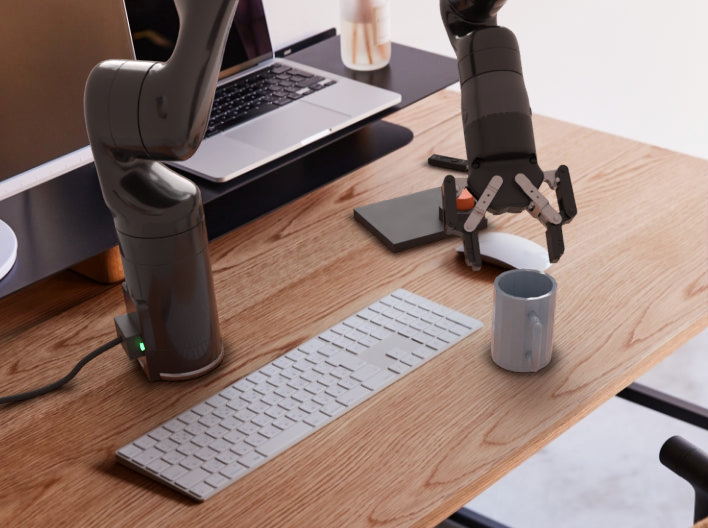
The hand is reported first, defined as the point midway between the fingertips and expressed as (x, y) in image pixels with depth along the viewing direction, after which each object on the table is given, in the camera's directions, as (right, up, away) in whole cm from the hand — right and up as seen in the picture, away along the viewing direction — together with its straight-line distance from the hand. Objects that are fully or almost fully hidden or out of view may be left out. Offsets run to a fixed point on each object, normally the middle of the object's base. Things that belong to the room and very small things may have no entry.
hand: (516, 265), depth 115 cm
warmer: (-8, +10, +29) cm, 32 cm away
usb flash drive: (-2, +20, +43) cm, 47 cm away
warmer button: (-3, +11, +26) cm, 29 cm away
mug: (+1, -10, +1) cm, 11 cm away
